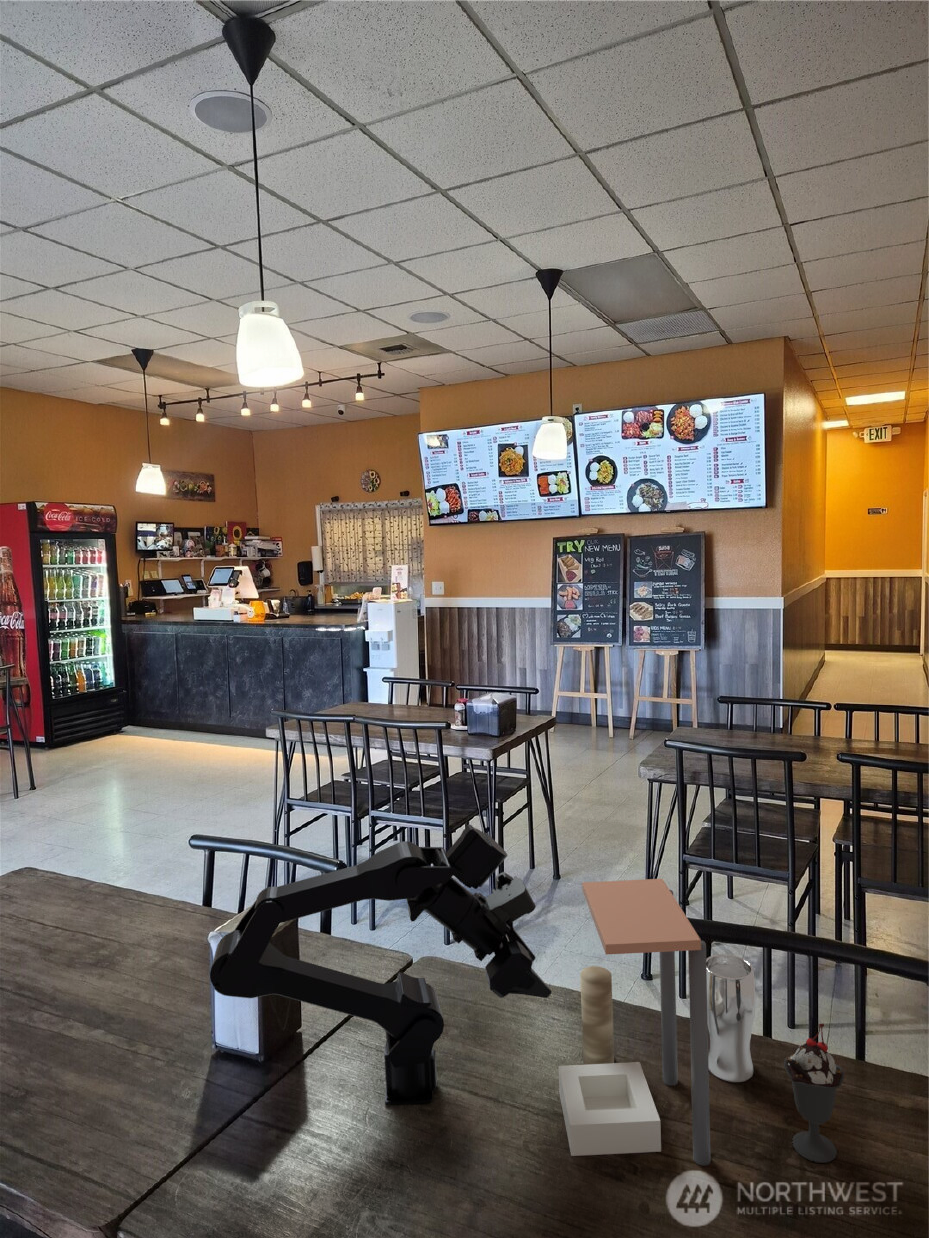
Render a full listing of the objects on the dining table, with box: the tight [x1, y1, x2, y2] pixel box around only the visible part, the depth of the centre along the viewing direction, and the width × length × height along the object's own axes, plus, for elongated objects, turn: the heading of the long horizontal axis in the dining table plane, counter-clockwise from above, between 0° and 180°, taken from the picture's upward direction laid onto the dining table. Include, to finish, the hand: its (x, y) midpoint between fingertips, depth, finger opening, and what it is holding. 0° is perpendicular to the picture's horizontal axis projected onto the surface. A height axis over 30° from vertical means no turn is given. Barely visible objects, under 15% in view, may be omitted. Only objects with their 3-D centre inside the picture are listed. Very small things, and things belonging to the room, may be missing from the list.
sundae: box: [783, 1023, 845, 1164], centre depth 94 cm, size 7×7×15 cm
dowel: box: [579, 965, 615, 1065], centre depth 112 cm, size 4×4×13 cm
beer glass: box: [706, 953, 757, 1083], centre depth 109 cm, size 7×7×15 cm
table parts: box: [558, 878, 711, 1167], centre depth 100 cm, size 16×17×28 cm
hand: (541, 976), depth 111 cm, fingers open, 9 cm apart
